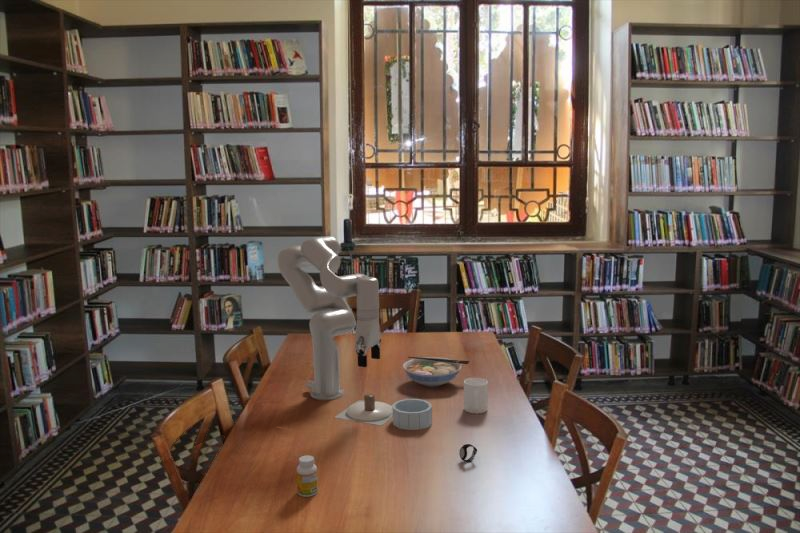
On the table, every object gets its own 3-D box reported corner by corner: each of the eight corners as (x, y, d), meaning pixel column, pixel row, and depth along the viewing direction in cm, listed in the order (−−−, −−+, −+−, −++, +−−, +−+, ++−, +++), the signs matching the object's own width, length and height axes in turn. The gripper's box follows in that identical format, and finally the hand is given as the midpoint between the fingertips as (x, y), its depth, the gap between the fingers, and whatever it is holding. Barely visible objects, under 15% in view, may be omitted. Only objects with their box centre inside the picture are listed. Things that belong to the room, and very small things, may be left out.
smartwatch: (459, 458, 208) (459, 442, 207) (476, 458, 208) (476, 442, 207) (460, 464, 204) (460, 448, 203) (477, 464, 204) (477, 448, 203)
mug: (487, 418, 238) (487, 389, 236) (462, 417, 239) (462, 388, 237) (487, 405, 250) (487, 378, 248) (464, 405, 251) (464, 377, 249)
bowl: (386, 426, 232) (385, 409, 231) (402, 413, 244) (402, 396, 242) (422, 433, 226) (422, 415, 225) (437, 419, 238) (437, 402, 237)
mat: (334, 418, 240) (334, 417, 240) (359, 401, 256) (359, 400, 256) (381, 426, 232) (381, 425, 232) (404, 408, 248) (404, 407, 248)
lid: (338, 416, 240) (337, 399, 239) (360, 401, 254) (360, 385, 253) (380, 424, 233) (379, 406, 232) (400, 407, 248) (400, 391, 247)
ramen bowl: (391, 389, 268) (390, 368, 266) (412, 371, 289) (412, 352, 287) (453, 397, 258) (453, 376, 257) (471, 378, 279) (471, 358, 278)
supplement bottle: (298, 488, 191) (296, 454, 189) (318, 487, 191) (316, 453, 190) (296, 498, 186) (295, 463, 184) (317, 496, 186) (316, 462, 184)
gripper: (369, 307, 247) (371, 354, 250) (345, 318, 232) (347, 368, 235) (389, 309, 244) (390, 356, 247) (366, 320, 229) (367, 371, 231)
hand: (369, 362), depth 241 cm, fingers open, 9 cm apart
